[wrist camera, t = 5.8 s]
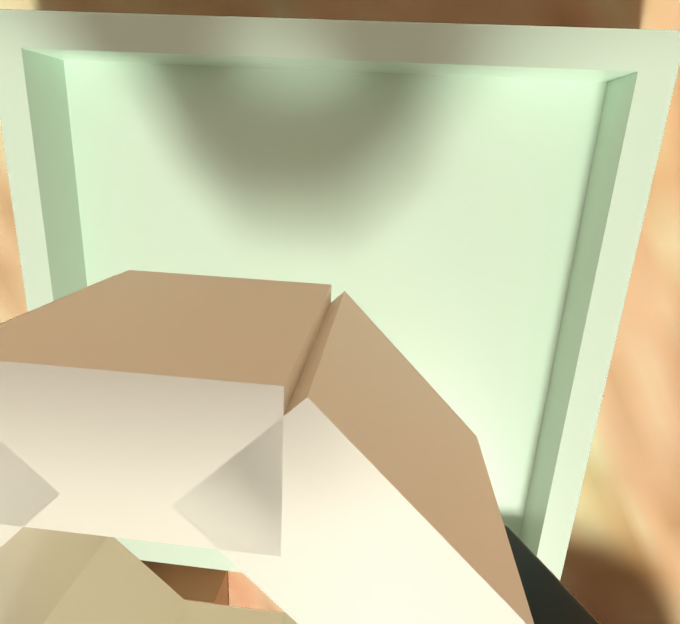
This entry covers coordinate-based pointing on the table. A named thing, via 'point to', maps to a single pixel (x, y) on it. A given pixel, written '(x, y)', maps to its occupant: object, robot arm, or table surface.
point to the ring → (237, 461)
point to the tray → (362, 197)
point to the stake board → (193, 582)
